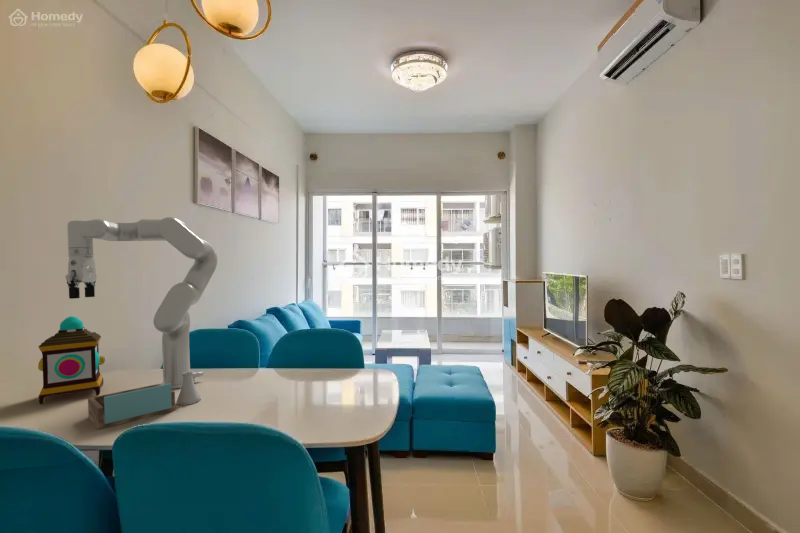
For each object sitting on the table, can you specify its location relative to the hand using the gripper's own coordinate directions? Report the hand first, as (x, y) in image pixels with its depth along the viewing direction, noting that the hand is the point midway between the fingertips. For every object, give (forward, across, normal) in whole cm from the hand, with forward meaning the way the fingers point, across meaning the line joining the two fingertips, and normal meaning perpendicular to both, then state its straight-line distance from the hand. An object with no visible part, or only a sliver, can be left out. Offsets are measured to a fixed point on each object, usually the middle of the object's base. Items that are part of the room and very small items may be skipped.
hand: (82, 297), depth 155 cm
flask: (+37, -24, -44) cm, 62 cm away
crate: (+37, -32, -30) cm, 57 cm away
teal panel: (+35, -38, -35) cm, 63 cm away
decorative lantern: (+37, 0, +4) cm, 37 cm away
